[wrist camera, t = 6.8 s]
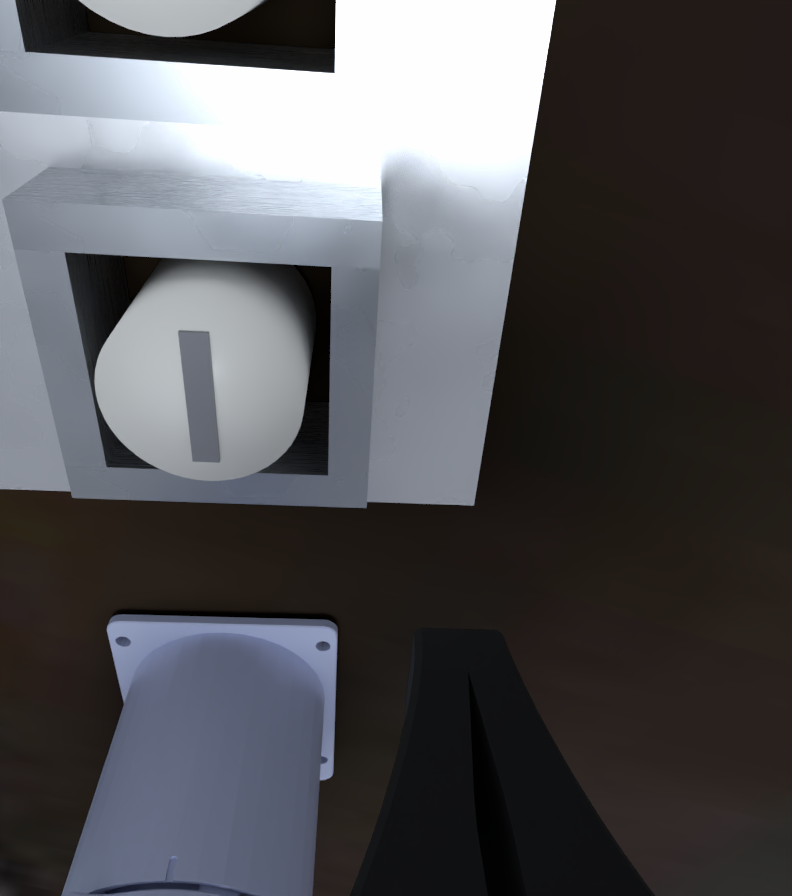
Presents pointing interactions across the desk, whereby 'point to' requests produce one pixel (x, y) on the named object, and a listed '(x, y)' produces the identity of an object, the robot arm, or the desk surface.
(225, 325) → the knob
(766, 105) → the desk surface
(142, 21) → the knob
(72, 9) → the mount
